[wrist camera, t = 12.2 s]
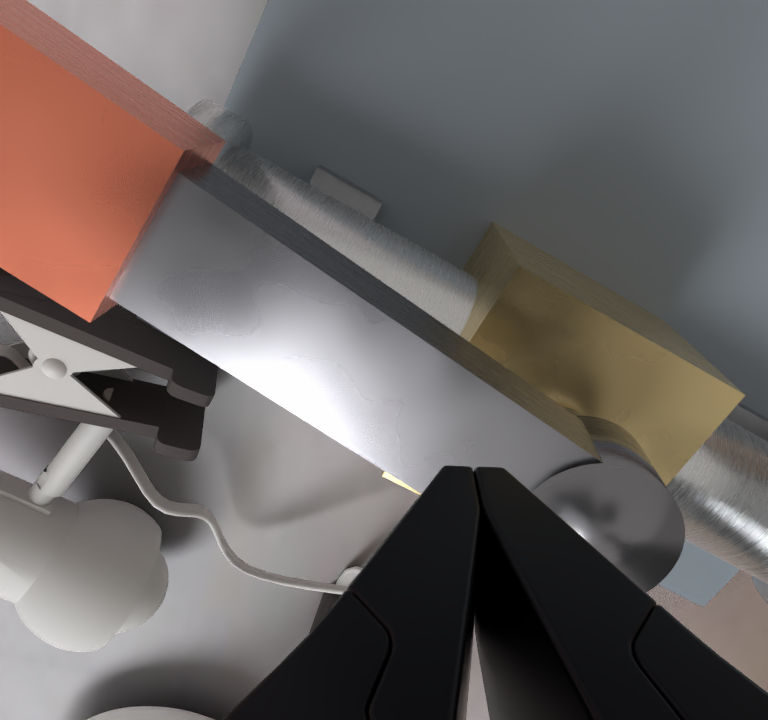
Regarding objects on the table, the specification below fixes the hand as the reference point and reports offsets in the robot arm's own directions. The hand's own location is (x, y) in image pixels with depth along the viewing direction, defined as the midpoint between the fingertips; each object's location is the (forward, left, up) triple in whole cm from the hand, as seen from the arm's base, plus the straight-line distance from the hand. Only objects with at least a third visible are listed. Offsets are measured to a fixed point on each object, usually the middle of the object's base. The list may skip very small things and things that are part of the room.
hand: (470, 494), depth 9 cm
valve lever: (+3, 0, -4) cm, 5 cm away
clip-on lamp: (+4, +12, -13) cm, 18 cm away
